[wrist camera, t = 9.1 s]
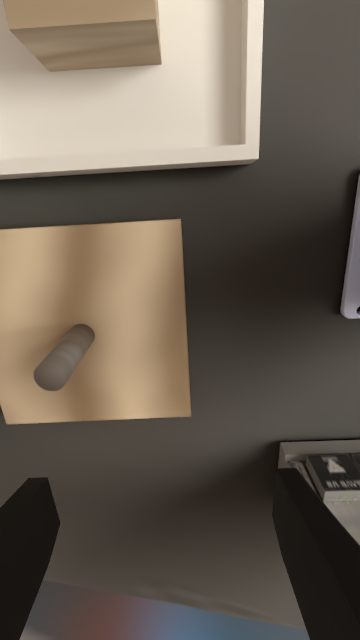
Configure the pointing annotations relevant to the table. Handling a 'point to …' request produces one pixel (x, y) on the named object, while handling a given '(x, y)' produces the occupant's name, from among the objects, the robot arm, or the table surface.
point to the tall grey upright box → (330, 475)
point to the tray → (139, 100)
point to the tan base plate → (93, 322)
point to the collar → (87, 32)
